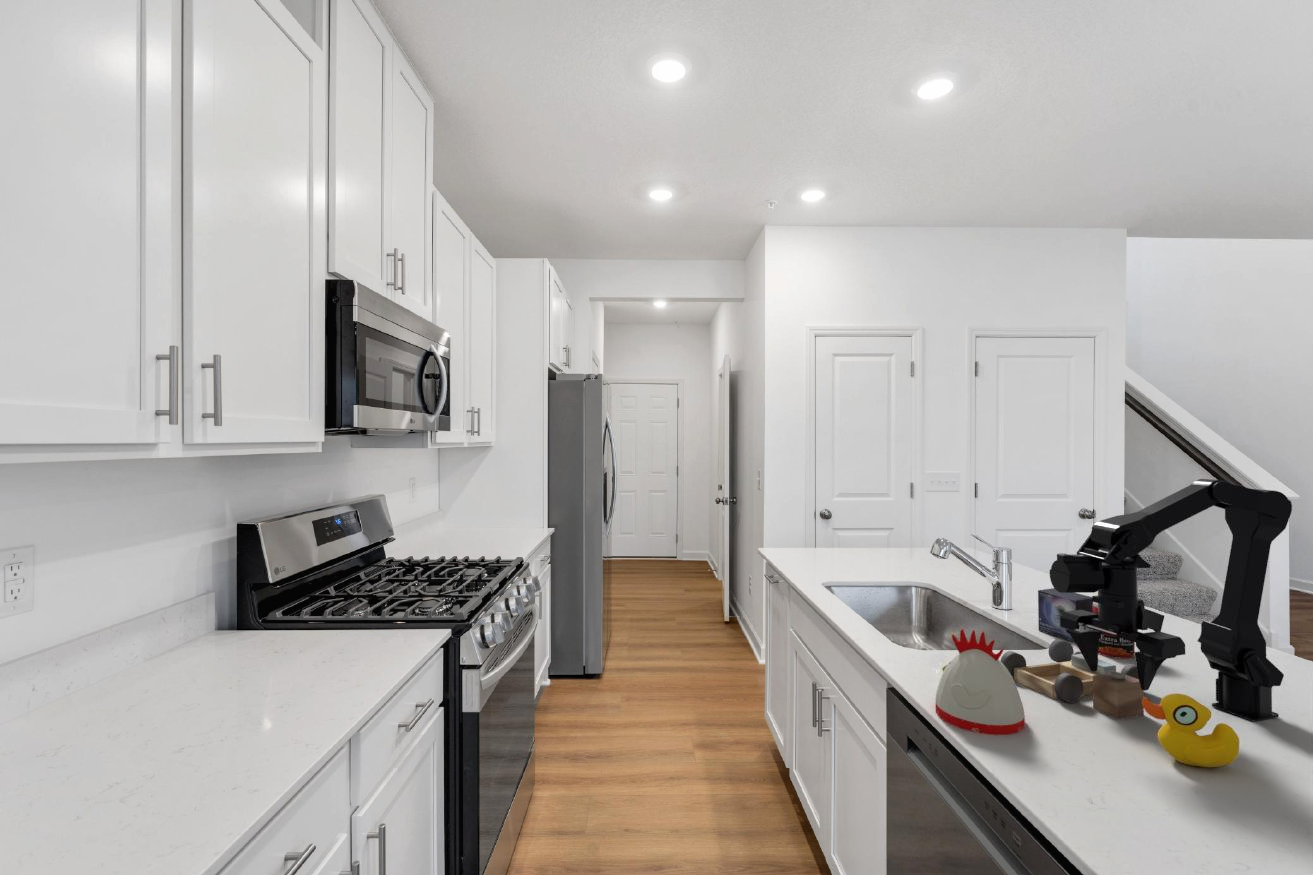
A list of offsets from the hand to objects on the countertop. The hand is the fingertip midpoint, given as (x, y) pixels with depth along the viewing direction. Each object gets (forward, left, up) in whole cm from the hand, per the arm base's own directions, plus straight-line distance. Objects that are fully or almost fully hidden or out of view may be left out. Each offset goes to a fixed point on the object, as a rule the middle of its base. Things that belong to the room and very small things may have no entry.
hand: (1118, 680), depth 111 cm
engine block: (0, 0, -6) cm, 6 cm away
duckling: (-16, +7, -6) cm, 19 cm away
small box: (+37, -30, -6) cm, 48 cm away
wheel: (+21, -11, -6) cm, 25 cm away
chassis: (+12, -3, -6) cm, 14 cm away
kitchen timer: (+6, +25, -6) cm, 26 cm away
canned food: (+24, -29, -6) cm, 38 cm away
